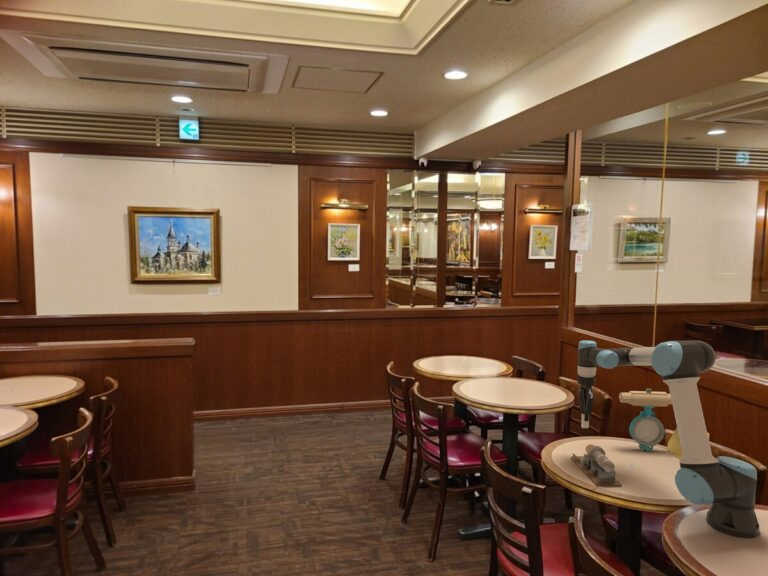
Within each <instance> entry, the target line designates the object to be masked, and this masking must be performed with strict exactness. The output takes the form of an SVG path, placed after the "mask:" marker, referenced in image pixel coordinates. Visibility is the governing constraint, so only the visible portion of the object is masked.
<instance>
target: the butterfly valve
mask: <svg viewBox="0 0 768 576" xmlns="http://www.w3.org/2000/svg"><path fill="white" fill-rule="evenodd" d="M652 390H653V389H652V388H648V387H647V388H646V389H645V390H644V391H642V390H641V391H640V390H629V392H620V393H618V399H619V402H620V403H624V404H625V403H626V404H629V405H631V406H636V407H639V406H640V407H643V408H644V409H643V410H642V411H639V414H638V415H637V416H636V417H634V418H633V420H632V421H631V422H630V424H629V428H628V430H629V434H630V436H631V438H632V439H633V440H634V441H635V443H637V444H638V447H639V449H640V450H643V451H644V450H646V451H645V452H649V451H650V450H651V451H652V450H653V449H654V446H656V445H658V444H659V443H661V441H662V440H663V439H664V436H665V433H666V430H665V426H664V424H663V423H662V422H661V420H660V419H659V418H658V417H656V413H655V412H654V411H652V409H654V408H655V407H668V406H669V405H673V404H672V400H671V395H670V393H667V392H666V391H652Z"/></svg>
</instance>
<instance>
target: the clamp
mask: <svg viewBox="0 0 768 576" xmlns="http://www.w3.org/2000/svg"><path fill="white" fill-rule="evenodd" d="M707 434H708V439H709V440H710V432H708V431H707ZM668 450H669V451H670V452H669V451H668ZM667 451H668V452H669V453H671V452H672V453H671V454H672V455H673V454H674V455H675V456H674V457H675V458H677V459H678V460H679V461H680V460H681V459H682V457H683V453H682V448H681V443H680V438H679V434H678V429H677V427H676V428H675V430H674V431H673V432H672V436H671V437H670V439H669V441H668V442H667Z"/></svg>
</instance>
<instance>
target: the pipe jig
mask: <svg viewBox="0 0 768 576" xmlns="http://www.w3.org/2000/svg"><path fill="white" fill-rule="evenodd" d="M594 446H595V447H592V448H591V449H590V450H589V452H588V458H589V460H590V461H591V467H590V469H588V468H587V467H586V466H585V465H584V455H583V456H580V455H579V456H578V455H576V454H575V453H572V456H570V459H571V460H572V461H573V463H575V465H577V467H578V468H579V469H580V470H581V471H582V473H584V475H585V476H587V478H588V479H589V480H590V481H591V482H592V483H593V484H594V485H595V486H596V487H598V488H599V487H604V488H605V487H608V488H609V487H611V488H613V487H614V488H622V487H623V485H622V483H621V482H620V481H619V480H618V479H617V478H616V477H617V475H616V474H617V471H616V470H615V467H616V465H615V464H614V462H613V461H612V460H611V459H609V458H608V457H607V455H606V451H605V450H604V449H603V448H602V447H601V446H599V445H594ZM598 446H599V447H598Z"/></svg>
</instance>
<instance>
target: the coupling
mask: <svg viewBox="0 0 768 576" xmlns="http://www.w3.org/2000/svg"><path fill="white" fill-rule="evenodd" d="M595 446H596V445H594V444H590V443H589V444H587V445H586V447H585V452H586V453H584V454H583V456H584V465H585V466H586V467H587V468H588V469H590V467H591V461H590V460H589V458H588V452H589V450H590V449H591V448H592V447H595ZM597 446H598V447H600V446H599V445H597Z"/></svg>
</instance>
